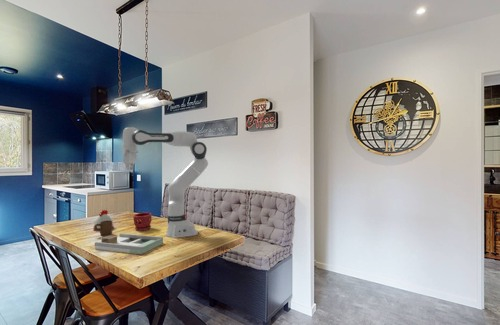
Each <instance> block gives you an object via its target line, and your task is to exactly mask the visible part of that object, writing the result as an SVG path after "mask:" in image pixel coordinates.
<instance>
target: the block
mask: <svg viewBox="0 0 500 325" xmlns="http://www.w3.org/2000/svg"><path fill="white" fill-rule="evenodd" d="M117 237H118V236H117V235H106V236H104V237H103V236H102V237H101V241H100V242H103V243H112V244H114V243H117Z"/></svg>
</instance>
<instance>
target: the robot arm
mask: <svg viewBox="0 0 500 325" xmlns="http://www.w3.org/2000/svg"><path fill="white" fill-rule="evenodd" d="M197 138H198V137H197V135H196V134H195V133H194V132H191V131H180V130H179V131H178V130H177V131H171V132H170V131H169V132H163V133H161V132H148V131H145V130H143V129H138V128H136V127H135V126H128V127H125V128H124V129H123V131H122V142H123V143H122V154H123V157H122V163H123V164H125V169H126V171H130V170H131V171H133V170H134V165H135V164H136V163H137V158H138V157H137V156H138V155H137V154H138V146H141V147H143V146H144V147H145V146H148V145H150V144H151V143H164V144H167V145H170V146H174V147H186V148H187V147H188V148H190V151H191V154H192V156H193V157H194V159H192V161H191V162H190V163H189V164H188V165H187V166H185V168H184V169H183V171H181V172H180V173H179V174H178V175H177V176H176V177H175V178H174V179H173V180H172V181H171V182H170V183H169V184H168V186H167V193H168V203H167V204H168V208H167V209H168V211H167V212H168V215H167V229H166V234H165V236H166V237H168V238H169V237H171V238H173V239H177V238H178V239H179V238H184V237H193V236H197V235H198V234H199V231H198V230H197V229H196V227H195V224H194V223H193V222H192V221H190V220H189V219H188V215H187V214H185V192H186V191H187V189H188V188H189V187H190V186H191V185H192V184H193V183H194V182H195V181H196V180H197V179H198V178H199V177H200V176H201V175H202V174H203V172H204V171H205V170H206V169H207V167H208V165H209V162H208V159H207V158H206V154H207V146H206V144H205V143H204V142H202V141H198V139H197Z"/></svg>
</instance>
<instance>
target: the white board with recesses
mask: <svg viewBox="0 0 500 325" xmlns="http://www.w3.org/2000/svg"><path fill="white" fill-rule="evenodd" d="M118 235H119V236H117V243H114V244H112V243H103V242H101V241H95V242H94V249H95V250H100V251H101V250H102V251H112V252H119V253H128V254H131V253H130V250H139V251H142V247H141V246H139V245H141V244H143V243H145V242H148V241H150V240H158V239H160V238H162V240H163V241H164V237H163V236H157V235H156V236H154V235H143V234H134V233H133V234H132V233H131V234H130V233H123V232H122V233H119V234H118Z"/></svg>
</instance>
